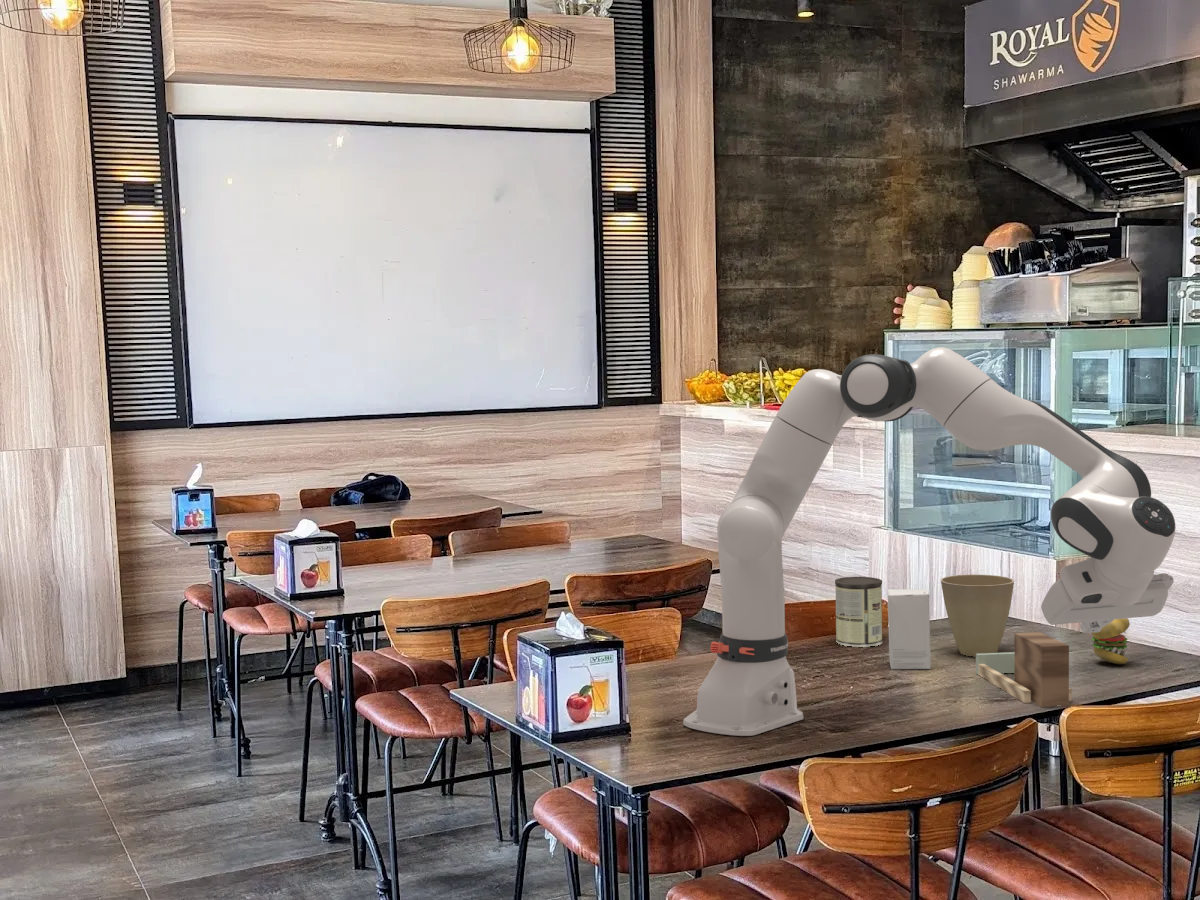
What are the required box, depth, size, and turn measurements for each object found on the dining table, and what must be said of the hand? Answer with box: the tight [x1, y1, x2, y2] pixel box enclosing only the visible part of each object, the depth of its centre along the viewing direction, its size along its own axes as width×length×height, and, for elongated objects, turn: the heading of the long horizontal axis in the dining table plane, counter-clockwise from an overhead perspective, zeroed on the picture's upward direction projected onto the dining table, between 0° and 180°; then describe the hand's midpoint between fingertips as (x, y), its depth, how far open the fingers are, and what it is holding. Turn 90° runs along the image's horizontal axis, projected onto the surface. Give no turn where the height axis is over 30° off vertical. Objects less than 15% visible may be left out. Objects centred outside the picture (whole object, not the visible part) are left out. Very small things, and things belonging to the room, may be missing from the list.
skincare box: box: [887, 588, 932, 670], centre depth 265 cm, size 8×7×16 cm
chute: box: [978, 664, 1073, 704], centre depth 246 cm, size 22×9×2 cm, turn 5°
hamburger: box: [1091, 618, 1131, 665], centre depth 264 cm, size 8×7×12 cm
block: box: [1013, 631, 1070, 708], centre depth 238 cm, size 12×5×11 cm, turn 5°
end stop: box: [975, 651, 1015, 675], centre depth 258 cm, size 1×9×4 cm, turn 95°
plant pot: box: [940, 574, 1015, 658], centre depth 275 cm, size 15×15×16 cm
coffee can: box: [834, 576, 884, 648], centre depth 288 cm, size 10×10×14 cm
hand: (1089, 629), depth 219 cm, fingers closed
